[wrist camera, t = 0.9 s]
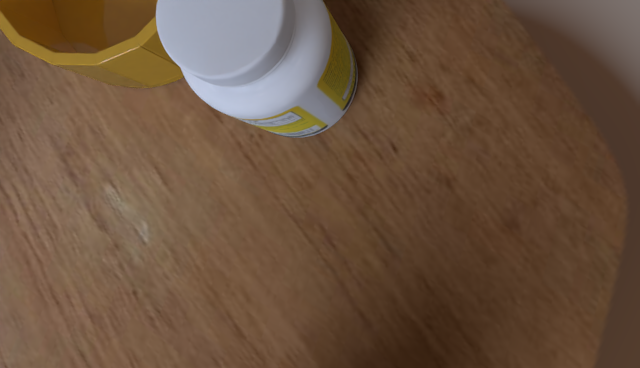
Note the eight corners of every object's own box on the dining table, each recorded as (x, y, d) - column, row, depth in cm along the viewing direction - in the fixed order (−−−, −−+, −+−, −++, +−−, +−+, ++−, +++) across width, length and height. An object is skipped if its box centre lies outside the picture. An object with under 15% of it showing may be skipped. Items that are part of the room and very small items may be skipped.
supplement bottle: (306, -5, 26) (230, -123, 17) (384, 83, 25) (352, 13, 16) (219, 75, 27) (99, 7, 17) (292, 164, 26) (209, 143, 17)
